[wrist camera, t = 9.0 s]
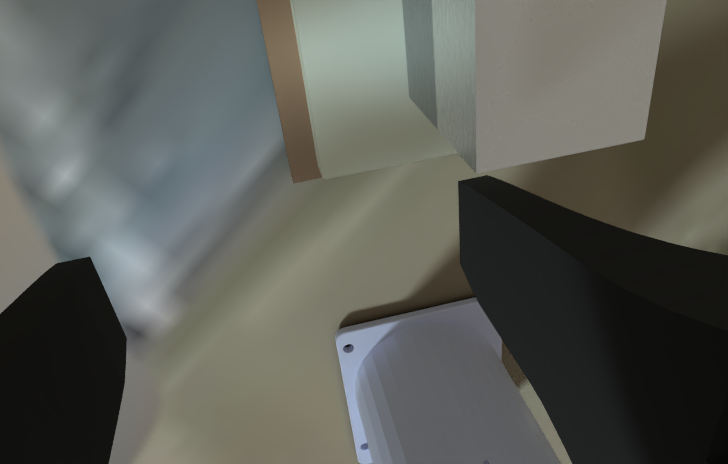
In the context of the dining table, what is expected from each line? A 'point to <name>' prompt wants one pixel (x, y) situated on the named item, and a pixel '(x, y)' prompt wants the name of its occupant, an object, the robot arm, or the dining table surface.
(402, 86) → the stand
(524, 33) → the housing
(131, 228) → the dining table surface
